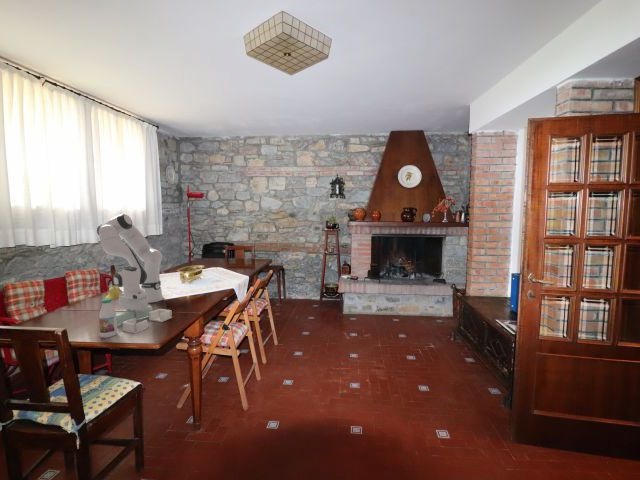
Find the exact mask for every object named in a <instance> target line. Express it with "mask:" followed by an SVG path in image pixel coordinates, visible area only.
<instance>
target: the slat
mask: <svg viewBox="0 0 640 480" xmlns="http://www.w3.org/2000/svg"><path fill="white" fill-rule="evenodd" d="M152 311H153V306H151V305H148V309H147V310H145V311H140V313H139V317H135V314H136V310H130V311H124V312H119V313H116V320H117V326H120V325H122V322H124V321H127V320H130V319H133V318H136V321H137V320H141V319H143V318H147V317H149V312H152Z"/></svg>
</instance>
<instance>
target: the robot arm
mask: <svg viewBox="0 0 640 480" xmlns="http://www.w3.org/2000/svg"><path fill="white" fill-rule="evenodd" d="M96 232H97V235H98V237H99V242H100V244H101V245H100V246H101V248H102V250H103V252H105V253H106V254H107V255H110V256H113V257H118V258H119V257H120V258H124V259H125V260H126V261H127V262H128V263H129V266H125V267H124V268H122V270H120V271H119V272H116V274H115V275H114V276H113V283H114V285H115V286H117V287H119V288H123V292H120V293H121V294H120V295H119V298H118V307H119V309H125V310H126V311H125V312H127V311H130V310H136V314H135V317H139V313H140V311H145V310H147V309H148V306H149V304H150V303H157V302H160V301H162V300H164V295H163V291H162V287H161V283H162V282H161V280H160V279H161V277H160V268H161V263H162V260H163V254H162V252H161V251H160V250H158V249H156V248H153V247H152V245H150V244H149V242H148V240H147V238H146V237H145V236H144V235H143V233H141V232H140V230H139V229H138V228H137V227H136V226H135V225H134V224H133V220H132V218H131V217H130V216H129V215H127V214H125V213H121V214H118V215H116V216H113V217H111V218H109V219H108V220H106V221H105V222H103V223H102V224H100V225H99V226H97V228H96ZM122 239H123V241H122ZM124 241H125V243H127V245H128V246H127V245H126V244H125V243H124ZM135 254H136V255H135ZM137 257H138V258H139V259H138V258H137ZM139 260H140V261H141V262H143V263H144V265H143V266H142V265H141V263H140V262H139ZM140 285H141V286H140Z"/></svg>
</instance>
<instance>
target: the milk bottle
mask: <svg viewBox="0 0 640 480" xmlns="http://www.w3.org/2000/svg"><path fill="white" fill-rule="evenodd" d="M100 302H101V309H100V311H99V315H98V323H99V336H100V338H103V339H105V338H112V337H115V336H116V335H118V325H117V320H116V314H117V312H116V310H115V308H114V307H113V305H112V303H113V299H111V298H106V299H105V298H103V299H101V301H100Z"/></svg>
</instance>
